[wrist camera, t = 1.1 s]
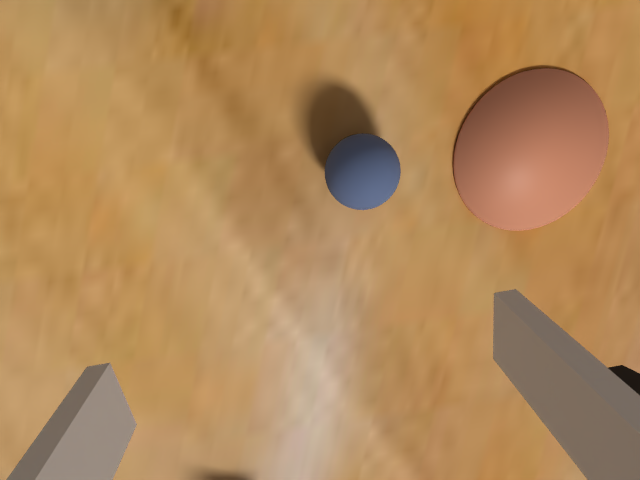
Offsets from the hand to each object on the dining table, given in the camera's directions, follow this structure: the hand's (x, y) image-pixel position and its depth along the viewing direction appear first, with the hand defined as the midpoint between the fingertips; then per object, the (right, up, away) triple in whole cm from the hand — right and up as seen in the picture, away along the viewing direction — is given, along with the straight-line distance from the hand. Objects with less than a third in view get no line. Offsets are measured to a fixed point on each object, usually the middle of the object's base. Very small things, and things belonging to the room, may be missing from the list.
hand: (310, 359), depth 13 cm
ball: (+3, +9, +15) cm, 18 cm away
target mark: (+18, +11, +19) cm, 28 cm away
